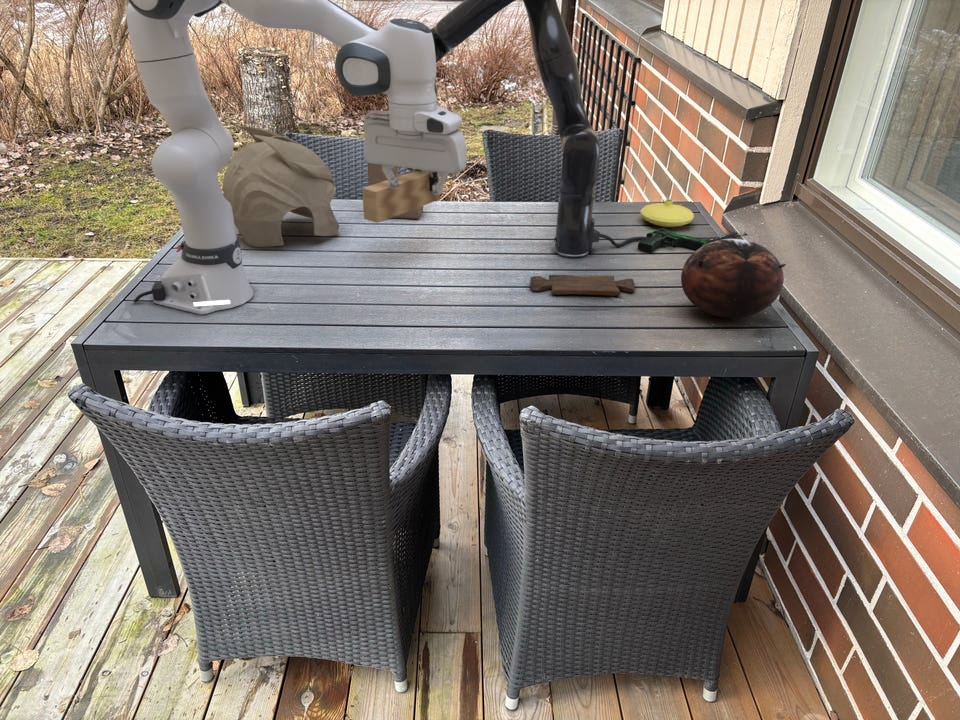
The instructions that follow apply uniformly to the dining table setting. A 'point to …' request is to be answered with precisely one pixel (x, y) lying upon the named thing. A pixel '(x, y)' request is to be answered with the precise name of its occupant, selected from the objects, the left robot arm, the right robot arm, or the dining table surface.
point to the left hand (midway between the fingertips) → (415, 190)
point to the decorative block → (378, 176)
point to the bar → (397, 196)
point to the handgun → (669, 240)
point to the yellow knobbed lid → (667, 214)
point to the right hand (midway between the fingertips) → (425, 188)
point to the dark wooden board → (581, 285)
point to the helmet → (277, 188)
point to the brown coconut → (732, 278)
